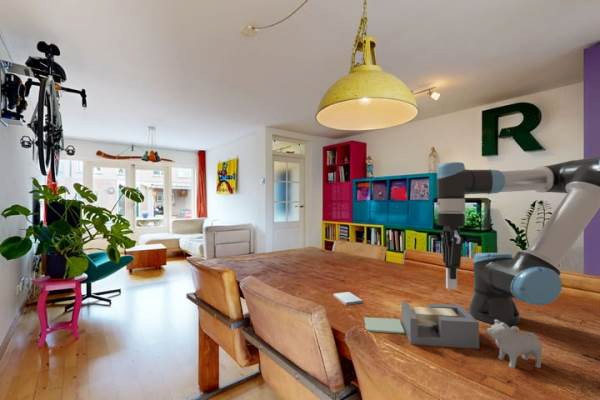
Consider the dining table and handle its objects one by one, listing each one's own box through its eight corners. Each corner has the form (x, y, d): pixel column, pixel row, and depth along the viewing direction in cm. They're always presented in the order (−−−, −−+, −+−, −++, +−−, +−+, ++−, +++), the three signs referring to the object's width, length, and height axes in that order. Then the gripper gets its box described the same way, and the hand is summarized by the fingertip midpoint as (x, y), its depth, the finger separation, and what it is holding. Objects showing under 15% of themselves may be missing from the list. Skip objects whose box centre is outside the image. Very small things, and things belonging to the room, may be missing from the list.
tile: (451, 318, 91) (451, 308, 91) (458, 326, 85) (458, 315, 85) (412, 315, 93) (412, 306, 93) (416, 323, 87) (416, 313, 87)
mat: (399, 320, 100) (399, 319, 100) (404, 333, 90) (404, 332, 90) (364, 318, 102) (364, 317, 102) (365, 331, 92) (365, 329, 92)
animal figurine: (482, 357, 76) (481, 317, 76) (529, 356, 76) (528, 316, 77) (496, 368, 71) (495, 326, 71) (546, 367, 71) (545, 325, 71)
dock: (460, 327, 94) (459, 304, 94) (479, 348, 80) (478, 322, 81) (401, 324, 97) (401, 302, 97) (410, 344, 84) (410, 318, 84)
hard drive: (363, 300, 119) (349, 291, 130) (345, 302, 116) (333, 293, 128) (363, 304, 119) (349, 295, 130) (345, 306, 116) (333, 296, 128)
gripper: (432, 211, 96) (432, 282, 95) (445, 213, 83) (445, 294, 82) (456, 212, 94) (456, 283, 94) (473, 213, 81) (473, 295, 81)
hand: (451, 288), depth 88 cm, fingers closed
